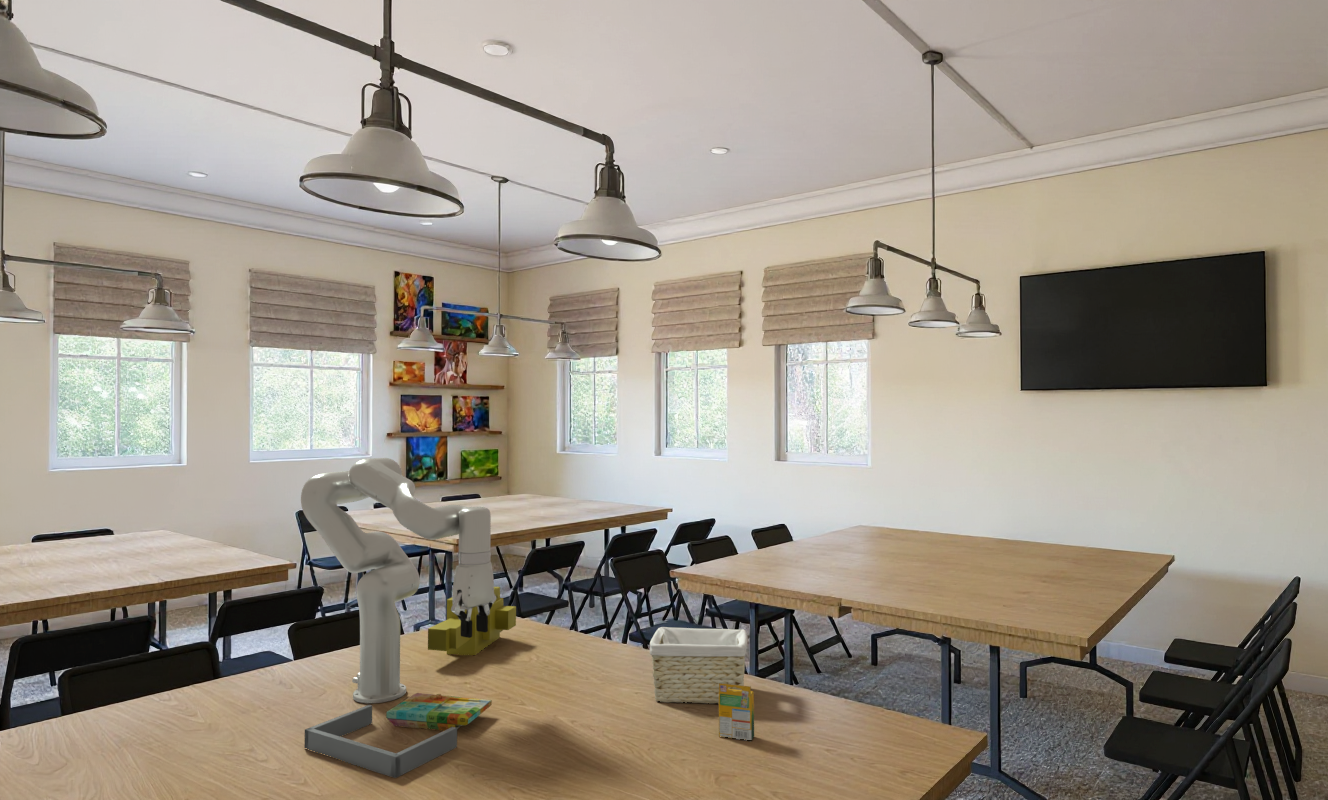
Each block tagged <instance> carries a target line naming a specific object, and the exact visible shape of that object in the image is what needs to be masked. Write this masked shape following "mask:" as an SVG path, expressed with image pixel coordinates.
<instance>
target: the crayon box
mask: <svg viewBox="0 0 1328 800" xmlns="http://www.w3.org/2000/svg"><path fill="white" fill-rule="evenodd" d="M728 687H736V688H740V689H742V690H735V689H728ZM751 689H752V687H751V685H744V686H742V685H732V684H723V683H719V704H718V737H719V738H725V737H728V738H727V739H732V738H736V739H735V740H740V739H744V740H743V741H747V740H752V741H753V739H754V737H755V699H754V697H755V695H754V690H753V691H752V690H751ZM720 736H721V737H720ZM745 739H746V740H745Z"/></svg>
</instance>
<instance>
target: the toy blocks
mask: <svg viewBox="0 0 1328 800" xmlns="http://www.w3.org/2000/svg"><path fill="white" fill-rule="evenodd" d="M494 594H495V596H496V600H495V602H494V603H493V604H492V607H491V609H490V614H489V615H487V616H488V631H487V632H480V631H477V630H476V616H477V614H479V613H478V608H477V606H476V607H473V608H472V613H471V618H470V620H472V637H470V638H468V637H462V636H461V620H459V617H458V616H457V615H456V614H455V613H453V612H452V611H451V608H452V606H453V603H452V597H449V598H447V599H446V620H442V621H441V622H439V623H436V624H434V625H433V626H431V627H428V628H427V650H428V651H438V652H439V651H440V652H446V655H451V654H458V655H457V656H472V655H475V656H476V655H478V654H479V653H481V652H482V651H483V650H485V649H486V648H487V647H489V646H490V645H491V644H492V642H493V643H494V642H495V641H497V640H498V639H500V638H501V637H500V636H501V633H502V632H503V631H510V630H511V629H512V628H515V627H516V626H517V606H515V605H513V606H512V605H504V597H501V587H500V586H494ZM482 607H483V606H482ZM466 612H467V610H465V613H466ZM488 645H489V646H488ZM485 647H486V648H485ZM484 648H485V649H484ZM481 650H482V651H481ZM480 651H481V652H480ZM477 653H478V654H477Z"/></svg>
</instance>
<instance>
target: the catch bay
mask: <svg viewBox="0 0 1328 800" xmlns="http://www.w3.org/2000/svg"><path fill="white" fill-rule="evenodd" d="M371 723H372V724H373V705H371V704H367V705H364V706H362V707H359V708H357V709H355V710H352V711H349V712H347V713H344V714H340V715H339V716H336V717H334V718H331V719H328V720H326V721H324V722H321V723H318V724H315V725H313V726H311V727H308V728H306V729H304V745H303V746H304V748H307V749H309V750H312V751H315V752H314V753H316V752H318V753H317V754H319V753H322V754H325V755H328V756H331V757H334V758H337V759H340V760H342V761H341V762H343V761H345V762H344V763H347V762H348V763H347V764H350V763H351V764H350V765H354V766H356V765H357V766H356V767H359V766H360V767H359V768H362V767H363V768H362V769H365V768H366V770H369V771H372V772H375V773H378V774H381V775H384V776H388V777H391V778H394V779H397V778H399V777H402V775H405V774H406V773H408V772H411V771H412V770H415V769H417V768H418V767H421V766H422V765H424V764H427V763H429V762H430V761H432V760H434V759H437V758H439V757H440V756H443V755H444V754H446V753H448V752H450V751H452V750H454V749H456V748H457V747H458V729H457V728H455V727H451V728H449V729H447V730H445V731H441V732H439V733H436V734H435V735H433V736H430V737H429V738H428V737H427V738H426V739H424V740H422V741H419V742H418V743H416V744H414V745H411V746H409V747H407V748H405V749H403V750H401V751H398V752H396V753H395V752H394V751H393V752H392V751H389V750H386V749H383V748H379V747H375V746H372V745H369V744H366V743H363V742H359V741H356V740H352V739H350V738H345V737H343V736H345V734H346V735H348V734H351V733H353V732H355V731H357V729H358V730H361V729H363V728H365V727H367V725H368V726H369V724H370V725H372V724H371ZM362 727H363V728H362ZM352 731H353V732H352ZM350 732H351V733H350ZM347 733H348V734H347ZM342 735H343V736H342ZM340 736H341V737H340ZM309 750H308V751H309ZM312 751H311V752H312ZM322 754H321V755H322ZM325 755H324V756H325ZM328 756H327V757H328ZM331 757H330V758H331ZM334 758H333V759H334ZM337 759H336V760H337ZM340 760H339V761H340Z"/></svg>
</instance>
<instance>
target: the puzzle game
mask: <svg viewBox="0 0 1328 800" xmlns="http://www.w3.org/2000/svg"><path fill="white" fill-rule="evenodd" d="M492 702H493V701H492V700H491V699H484V698H483V699H482V698H473V697H461V696H460V697H459V696H451V695H442V694H441V693H436V694H432V693H431V694H430V693H419V692H417V693H414V694H412V695H410V696H409V697H408V698H406V699H405V700H403V701H401V702H400V703H399V704H397V705H395V706H394V707H392V708H391V709H390V708H389V710H387V711H386V715H385V716H386V717H385V718H386V719H387V720H388V721H389V722H390V723H391V725H392V726H393V727H400V726H403V727H402V728H410V727H413V728H412V729H421V728H424V730H432V729H435V730H434V731H442V730H443V731H445V730H447V729H449V728H451V727H455V728H457V730H458V729H459V728H461V727H462V726H464V727H465V726H468V725H469V724H470V723H472V722H473V721H474V720H475V719H476V718H477V717H479V716H481V714H482V713H484V712H485V711H486V710H488V709H489V708H490V707H492V706H493V705H492V704H493V703H492ZM460 726H461V727H460ZM443 731H442V732H443Z"/></svg>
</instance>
